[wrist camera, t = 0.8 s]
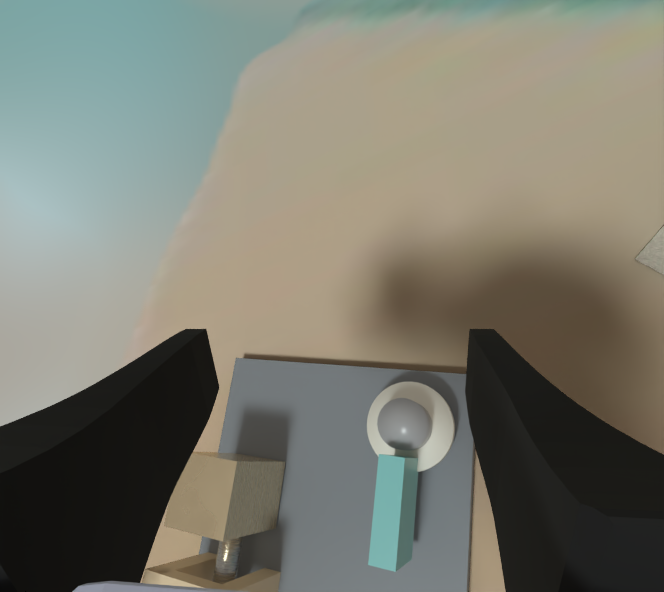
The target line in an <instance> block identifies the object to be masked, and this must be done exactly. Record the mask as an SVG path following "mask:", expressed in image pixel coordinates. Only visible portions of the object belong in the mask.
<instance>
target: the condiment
mask: <svg viewBox="0 0 664 592" xmlns="http://www.w3.org/2000/svg"><path fill="white" fill-rule="evenodd" d="M635 260H637V261H639V262H641V263H643V264H644V265H647V266H649V267H651V268H652V269H654V270H656V271H658V272H659V273H661V274H663V275H664V226H663V227H662V228H661V229H660V230H659V231H658V233H657V234H656V235H655V236H654V237H653V239H652V240H651V241H650V242H649V243H648V244H647V245H646V247H645V248H644V249H643V250H642V251H641V252H640V254H639V255H638V256H637V257H636V258H635Z"/></svg>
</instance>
